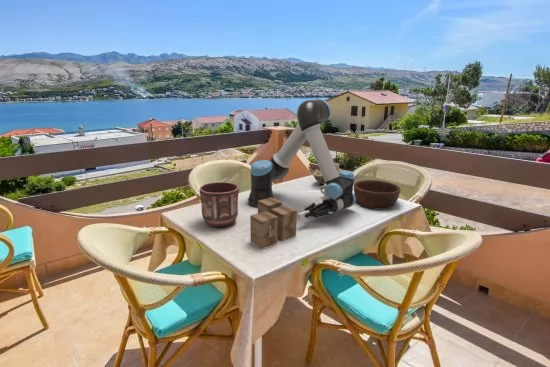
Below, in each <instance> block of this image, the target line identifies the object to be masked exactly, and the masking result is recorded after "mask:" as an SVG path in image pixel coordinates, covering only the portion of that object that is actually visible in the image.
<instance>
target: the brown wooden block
mask: <svg viewBox="0 0 550 367" xmlns="http://www.w3.org/2000/svg"><path fill="white" fill-rule="evenodd" d="M271 214H273V215H275V216H277V217H278V233H277V239H278V238H279V239H278V240H280V239H281V240H280V241H282V240H284V241H286V240H288V238H289V239H291V238H294V237H295V236H297V221H298V219H297V215H298V210H297V209H295V208H293V207H290V206H288V205H285V204H282V206H280V207H277V208H273V209H271ZM285 239H286V240H285Z"/></svg>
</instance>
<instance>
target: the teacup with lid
mask: <svg viewBox="0 0 550 367" xmlns="http://www.w3.org/2000/svg"><path fill="white" fill-rule="evenodd" d="M325 188H326V183H325V184H324V186H320V189H319V190H320V193H321V194H323V197H322V198H323V201H324V200H325V199H328V198H329V197H328V196H327V195H326V193H325Z"/></svg>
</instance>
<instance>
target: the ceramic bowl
mask: <svg viewBox="0 0 550 367" xmlns="http://www.w3.org/2000/svg"><path fill="white" fill-rule="evenodd" d="M336 169H337V171H338V174H339V172H341V171H343V170H342V169H341V168H339V167H338V166H336ZM312 176H313V178H314V180H315V181H316V182H318V184H319V186H320V187H321V186H324V184H325V181H324V178H323V176H322V174H321V171H320V169H319V166H318V165H317V167H316V169H314V171H313V173H312Z"/></svg>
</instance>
